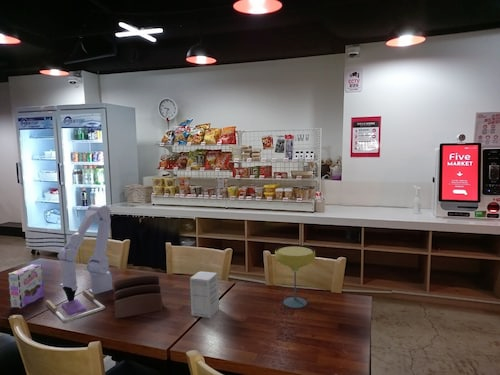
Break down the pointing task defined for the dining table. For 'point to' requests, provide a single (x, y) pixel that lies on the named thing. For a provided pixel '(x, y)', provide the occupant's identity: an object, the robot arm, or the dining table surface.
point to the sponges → (73, 307)
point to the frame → (82, 313)
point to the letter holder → (137, 296)
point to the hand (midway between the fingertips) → (71, 301)
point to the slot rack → (56, 307)
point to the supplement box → (204, 294)
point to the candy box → (25, 285)
